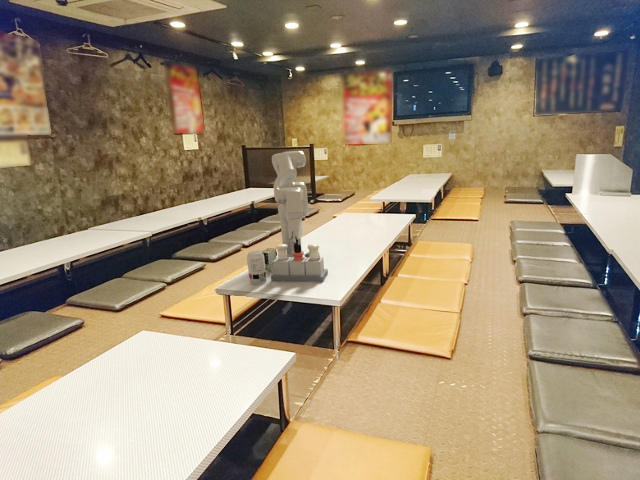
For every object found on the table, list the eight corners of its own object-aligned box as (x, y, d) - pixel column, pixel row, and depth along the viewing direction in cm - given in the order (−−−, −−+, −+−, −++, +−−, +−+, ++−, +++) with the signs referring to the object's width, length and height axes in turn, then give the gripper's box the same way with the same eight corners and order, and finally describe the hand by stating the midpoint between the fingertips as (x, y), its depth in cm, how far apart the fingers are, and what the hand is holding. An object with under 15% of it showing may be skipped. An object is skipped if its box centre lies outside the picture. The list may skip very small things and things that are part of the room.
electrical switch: (314, 269, 221) (311, 252, 219) (305, 269, 223) (303, 252, 222) (322, 264, 229) (320, 247, 227) (314, 264, 231) (311, 248, 230)
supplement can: (246, 284, 204) (243, 254, 201) (256, 279, 211) (253, 250, 208) (260, 286, 201) (256, 256, 197) (269, 280, 208) (267, 251, 204)
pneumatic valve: (278, 267, 228) (276, 245, 225) (267, 274, 218) (265, 251, 215) (269, 266, 231) (267, 245, 228) (258, 273, 220) (256, 251, 217)
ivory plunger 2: (310, 259, 209) (309, 243, 207) (321, 259, 208) (320, 243, 206) (307, 263, 204) (306, 246, 202) (318, 263, 202) (317, 246, 201)
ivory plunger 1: (279, 259, 213) (277, 244, 211) (290, 259, 211) (288, 244, 209) (275, 263, 207) (274, 247, 205) (286, 263, 206) (285, 247, 204)
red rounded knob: (295, 266, 212) (293, 250, 210) (306, 266, 210) (304, 250, 208) (292, 269, 206) (290, 253, 204) (303, 270, 205) (302, 253, 203)
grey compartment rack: (278, 273, 218) (276, 255, 216) (327, 273, 212) (326, 255, 210) (271, 281, 207) (269, 262, 204) (323, 282, 201) (321, 263, 199)
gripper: (291, 212, 210) (294, 248, 214) (283, 218, 196) (286, 256, 200) (306, 212, 208) (308, 248, 212) (298, 218, 194) (301, 256, 198)
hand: (297, 252), depth 206 cm, fingers closed
